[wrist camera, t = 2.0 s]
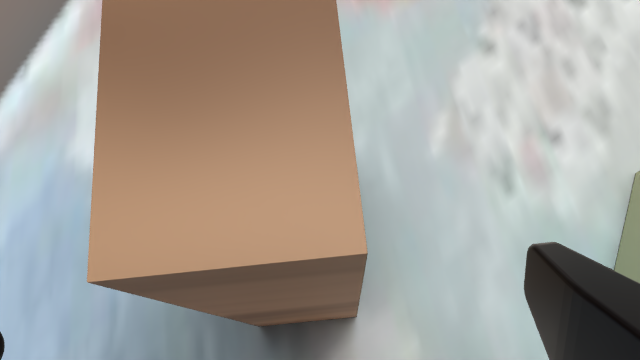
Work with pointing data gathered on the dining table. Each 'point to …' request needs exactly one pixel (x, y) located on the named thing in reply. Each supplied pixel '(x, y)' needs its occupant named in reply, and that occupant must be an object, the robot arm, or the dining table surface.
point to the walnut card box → (227, 160)
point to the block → (631, 237)
